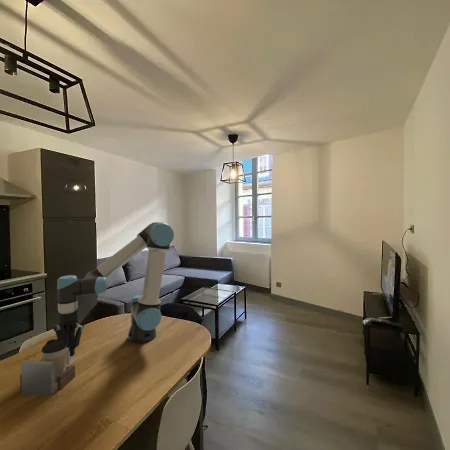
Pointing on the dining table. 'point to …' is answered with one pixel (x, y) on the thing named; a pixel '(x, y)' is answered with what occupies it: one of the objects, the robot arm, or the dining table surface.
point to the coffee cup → (56, 354)
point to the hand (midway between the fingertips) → (69, 362)
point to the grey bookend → (38, 378)
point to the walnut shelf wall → (61, 377)
